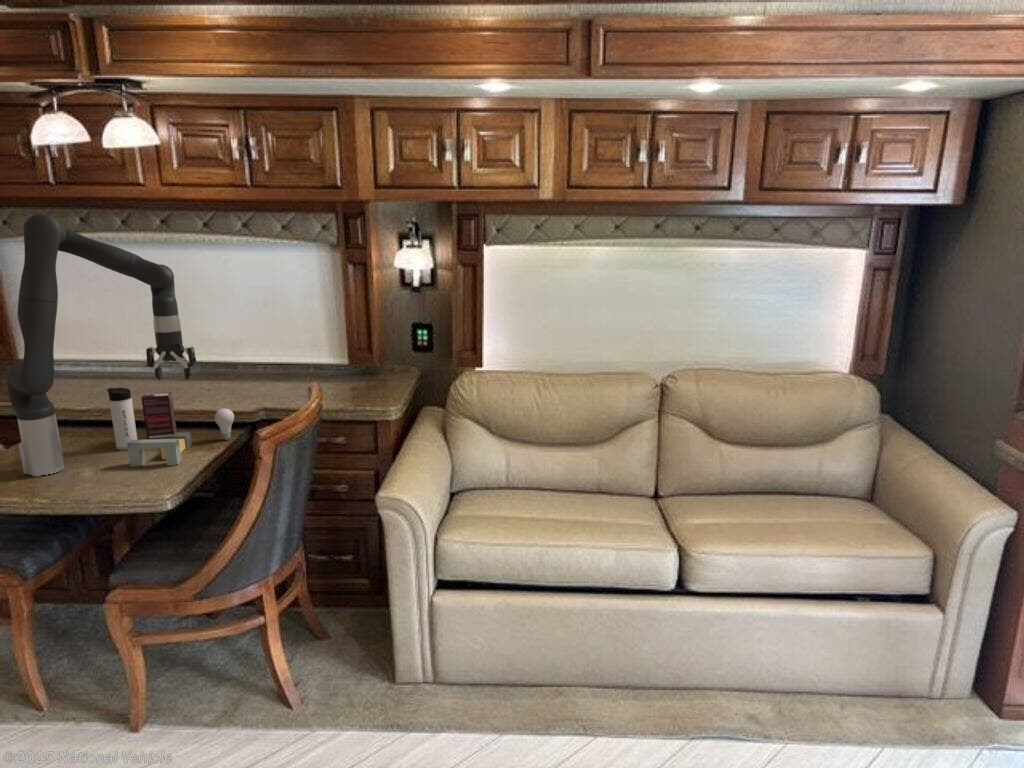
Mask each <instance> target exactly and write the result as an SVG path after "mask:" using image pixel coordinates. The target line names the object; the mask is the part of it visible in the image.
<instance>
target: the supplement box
mask: <svg viewBox="0 0 1024 768" xmlns="http://www.w3.org/2000/svg"><path fill="white" fill-rule="evenodd" d="M172 394H173V393H172V392H171V391H168V392H152V393H149V392H148V393H143V395H142V396H141V397H140V399H141V405H142V411H143V412H142V413H143V419H144V424H145V431H146V438H147V439H171V436H172V435H173V434H175V433H178V432H177V431H178V430H177V424H176V423H177V422H176V416H175V409H174V401H173V395H172ZM147 439H146V440H147Z"/></svg>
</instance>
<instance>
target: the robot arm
mask: <svg viewBox="0 0 1024 768" xmlns="http://www.w3.org/2000/svg"><path fill="white" fill-rule="evenodd" d="M22 228H23V230H22V231H23V241H24V242H23V244H24V249H23V250H24V262H23V269H22V273H21V277H20V283H19V292H18V297H17V298H18V301H17V312H16V313H17V321H18V324H19V328H20V331H21V335H22V338H23V339H22V340H23V345H24V346H23V347H24V349H23V350H24V353H23V358H22V359H23V360H22V361H16V362H14V363H13V364H12V365H11V366H9V368H8V370H7V372H6V376H5V377H6V380H5V381H6V386H7V391H8V395H9V399H10V403H11V406H12V409H13V411H14V412H15V413H16V414H15V415H16V419H17V424H18V430H19V434H20V440H21V442H20V443H19V444H18V449H19V455H20V460H21V465H22V471H23V475H24V474H29V475H32V476H31V477H42V476H41V475H46V476H49V475H48V474H51V475H54V474H53V473H55V474H56V472H58V473H60V472H62V471H63V470H65V461H64V456H63V450H62V444H61V439H60V434H59V425H58V420H57V414H56V411H55V410H56V408H55V406H54V404H53V402H52V401H51V400H50V399H49V398H48V396H47V393H48V392H49V391H50V389H52V387H53V385H54V382H55V362H54V361H55V360H54V356H55V355H54V346H55V345H54V344H55V336H56V335H55V333H56V321H57V314H58V304H59V303H58V302H59V301H58V299H59V297H58V296H59V293H58V292H59V289H58V279H57V278H58V277H57V266H56V265H57V258H58V252H63V253H67V254H71V255H73V256H76V257H79V258H82V259H84V260H86V261H89V262H92V263H94V264H95V265H98V266H100V267H104V268H105V269H108V270H110V271H112V272H116V273H118V274H121V275H124V276H125V277H130V278H133V279H136V280H137V281H140V282H142V283H144V284H146V285H148V286H150V292H151V298H152V300H151V306H152V307H151V308H152V315H153V316H152V317H153V330H154V331H153V332H154V339H155V345H156V347H153V346H150V347H148V348H146V349H145V350H146V351H145V353H146V365H147V367H149V368H153V370H154V375H155V377H154V378H156V380H158V381H162V380H163V377H164V376H163V369H162V364H163V363H164V362H178V363H179V364H180V365H181V366H183V371H184V372H183V373H184V379H185V380H187V381H188V380H190V378H192V367H194V366H195V365H196V364H197V359H196V352H195V348H194V346H190V347H185V346H184V345H183V343H184V342H183V335H182V327H181V325H182V324H181V321H180V316H179V308H178V301H177V299H176V291H175V290H176V288H175V274H174V272H173V269H171V268H170V267H169V266H168V265H165V264H162V263H161V264H159V263H156V262H153V261H150V260H148V259H144V258H143V257H141V256H139V255H137V254H135V253H133V252H131V251H128V250H125V249H123V248H120V247H118V246H115V245H111V244H109V243H105V242H103V241H99V240H96V239H93V238H90V237H87V236H84V235H82V234H80V233H78V232H76V231H74V230H72V229H70V228H69V227H66V226H65V225H64V224H61V223H60V222H59V221H58V220H57V219H56V218H55V217H54V216H51V215H49V214H46V213H35V214H33V215H31V216H29V217H28V218H27V219H26V220H25V221H24V223H23V227H22ZM184 353H185V354H186V355H188V359H187V357H186V356H185V355H184ZM155 354H157V355H158V358H157V360H156V361H155ZM61 470H62V471H61ZM59 471H60V472H59ZM29 475H28V476H29Z"/></svg>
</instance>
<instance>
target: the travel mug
mask: <svg viewBox="0 0 1024 768" xmlns="http://www.w3.org/2000/svg"><path fill="white" fill-rule="evenodd" d="M106 391H107V392H108V399H109V408H110V415H111V420H112V427H113V435H114V440H115V447H116V450H117V451H128V447H127V443H128V442H129V441H131V440H138V433H137V427H136V419H135V413H134V406H133V398H132V393H131V389H129V388H126V387H115V388H113V387H109V388H107V390H106Z"/></svg>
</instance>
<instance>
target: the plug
mask: <svg viewBox="0 0 1024 768" xmlns="http://www.w3.org/2000/svg"><path fill="white" fill-rule="evenodd" d="M171 439H179V445H180V453H181V452H182V451H183V450H184V449H186V448H188V447H189V446H191V445H192V446H193V443H192V435H191V432H190V431H189V432H187V431H186V432H177V433H175V434H173V435H172V436H171ZM192 446H191V447H192ZM189 448H190V447H189ZM189 448H188V449H189ZM181 454H182V453H181ZM160 456H161V459H162V458H166V456H165V448H160Z"/></svg>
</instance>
